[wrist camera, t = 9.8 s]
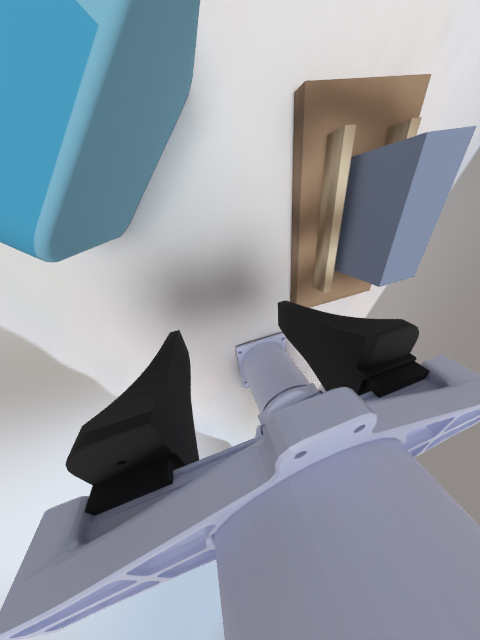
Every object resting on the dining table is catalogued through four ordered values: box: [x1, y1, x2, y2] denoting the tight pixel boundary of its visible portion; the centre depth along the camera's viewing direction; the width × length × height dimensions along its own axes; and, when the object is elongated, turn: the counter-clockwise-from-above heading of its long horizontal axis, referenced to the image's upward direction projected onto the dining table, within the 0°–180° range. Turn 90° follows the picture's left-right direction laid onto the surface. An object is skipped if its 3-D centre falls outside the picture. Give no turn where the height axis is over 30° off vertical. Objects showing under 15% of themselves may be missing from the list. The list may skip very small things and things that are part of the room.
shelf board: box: [291, 74, 431, 308], centre depth 19 cm, size 20×12×4 cm, turn 8°
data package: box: [0, 0, 200, 262], centre depth 8 cm, size 12×4×12 cm, turn 142°
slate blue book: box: [334, 126, 476, 287], centre depth 17 cm, size 10×4×7 cm, turn 8°
